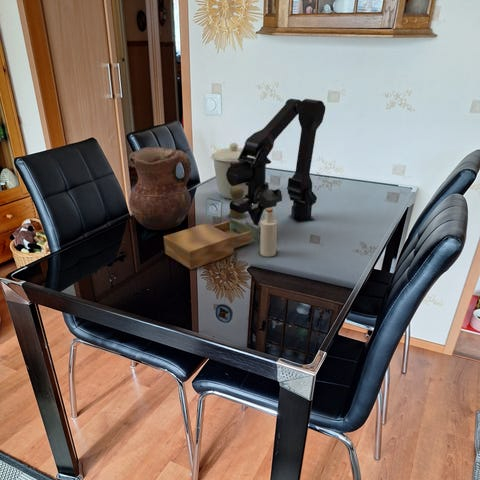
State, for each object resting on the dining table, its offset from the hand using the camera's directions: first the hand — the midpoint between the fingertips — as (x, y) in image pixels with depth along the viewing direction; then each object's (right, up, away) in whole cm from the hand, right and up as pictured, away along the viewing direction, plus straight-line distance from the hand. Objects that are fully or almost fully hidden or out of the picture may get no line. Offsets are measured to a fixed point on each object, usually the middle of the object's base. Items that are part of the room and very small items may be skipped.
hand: (256, 225), depth 148 cm
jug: (-34, +3, +11) cm, 36 cm away
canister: (-8, +20, +36) cm, 42 cm away
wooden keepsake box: (-18, -11, -11) cm, 24 cm away
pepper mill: (-7, +7, +16) cm, 19 cm away
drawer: (-8, -6, -4) cm, 11 cm away
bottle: (+3, -11, -11) cm, 16 cm away
